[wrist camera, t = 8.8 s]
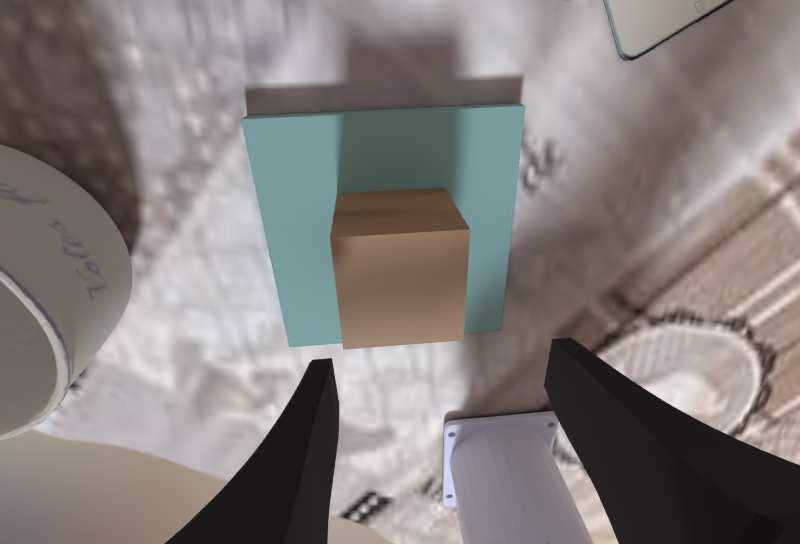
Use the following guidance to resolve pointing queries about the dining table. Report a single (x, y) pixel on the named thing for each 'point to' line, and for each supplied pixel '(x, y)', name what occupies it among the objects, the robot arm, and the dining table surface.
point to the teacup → (52, 286)
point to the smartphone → (653, 22)
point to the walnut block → (399, 267)
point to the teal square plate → (382, 171)
